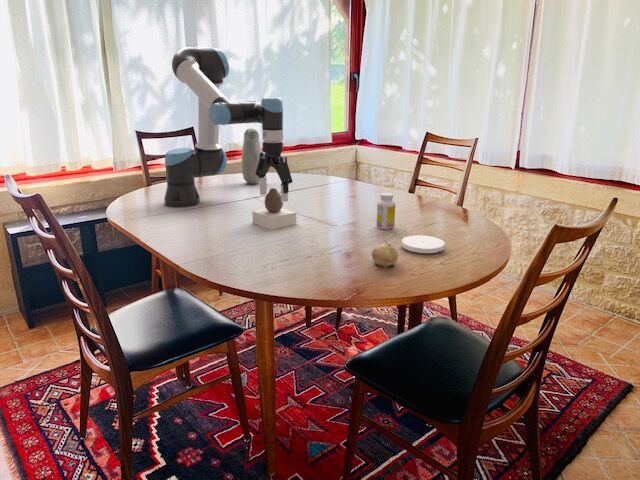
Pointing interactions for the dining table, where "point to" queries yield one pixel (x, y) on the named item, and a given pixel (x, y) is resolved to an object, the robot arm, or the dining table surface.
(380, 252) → the onion
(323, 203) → the dining table surface
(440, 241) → the plastic lid
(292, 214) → the riser block
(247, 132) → the grey-green rounded cylinder
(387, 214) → the supplement bottle
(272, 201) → the vase
